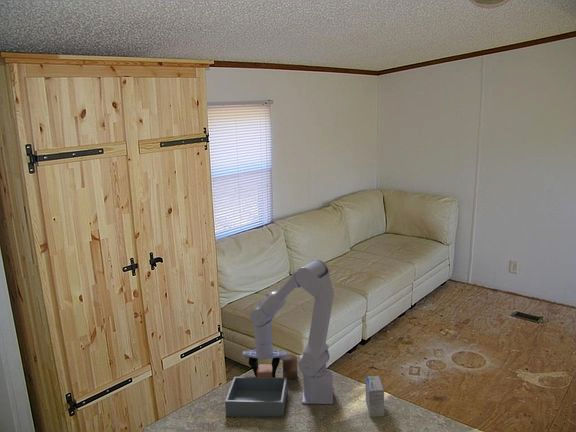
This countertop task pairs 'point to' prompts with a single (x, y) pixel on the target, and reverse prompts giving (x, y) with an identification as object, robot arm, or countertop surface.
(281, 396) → the slate tote
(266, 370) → the terracotta cube
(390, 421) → the countertop surface
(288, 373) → the walnut cylinder
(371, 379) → the medicine box
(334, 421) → the countertop surface
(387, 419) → the countertop surface
